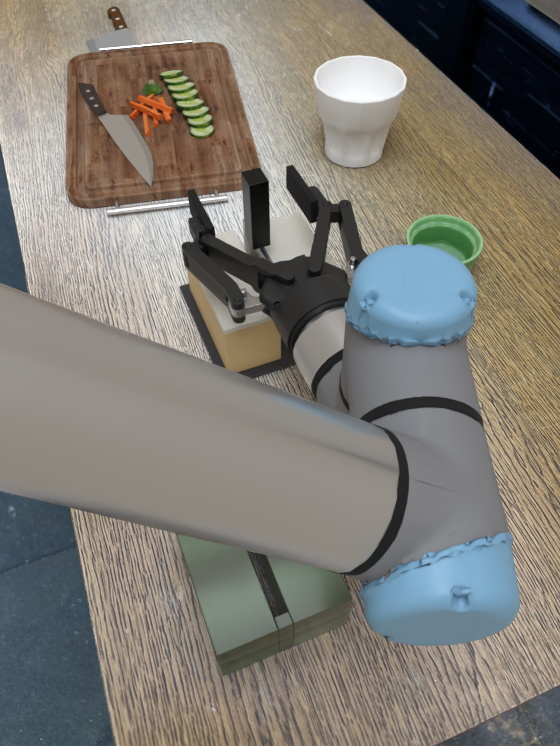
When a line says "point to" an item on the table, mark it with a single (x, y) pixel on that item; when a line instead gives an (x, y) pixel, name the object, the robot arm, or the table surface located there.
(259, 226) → the black-handled knife
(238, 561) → the knife block
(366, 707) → the table surface
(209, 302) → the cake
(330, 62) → the cup
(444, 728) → the table surface
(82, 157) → the chopping board
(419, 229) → the ramekin
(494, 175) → the table surface
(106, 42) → the kitchen cleaver
